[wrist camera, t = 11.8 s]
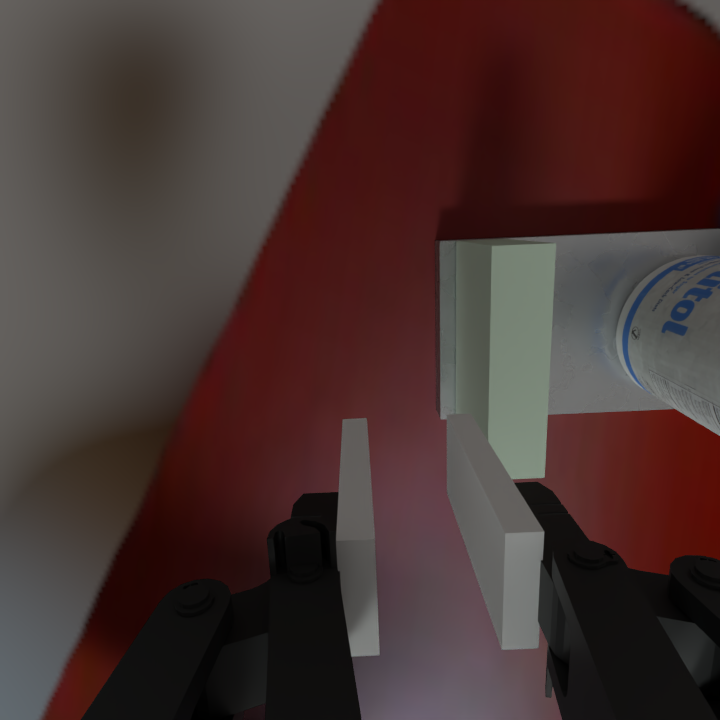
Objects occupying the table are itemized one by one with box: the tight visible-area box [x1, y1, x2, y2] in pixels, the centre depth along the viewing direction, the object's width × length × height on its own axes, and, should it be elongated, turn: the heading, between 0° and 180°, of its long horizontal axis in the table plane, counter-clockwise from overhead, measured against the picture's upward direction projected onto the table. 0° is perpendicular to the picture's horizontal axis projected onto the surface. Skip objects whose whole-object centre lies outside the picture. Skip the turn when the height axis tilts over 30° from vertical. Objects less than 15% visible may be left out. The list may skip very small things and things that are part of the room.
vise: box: [435, 228, 720, 419], centre depth 31 cm, size 26×12×11 cm, turn 92°
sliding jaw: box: [456, 239, 556, 479], centre depth 30 cm, size 3×12×9 cm, turn 2°
